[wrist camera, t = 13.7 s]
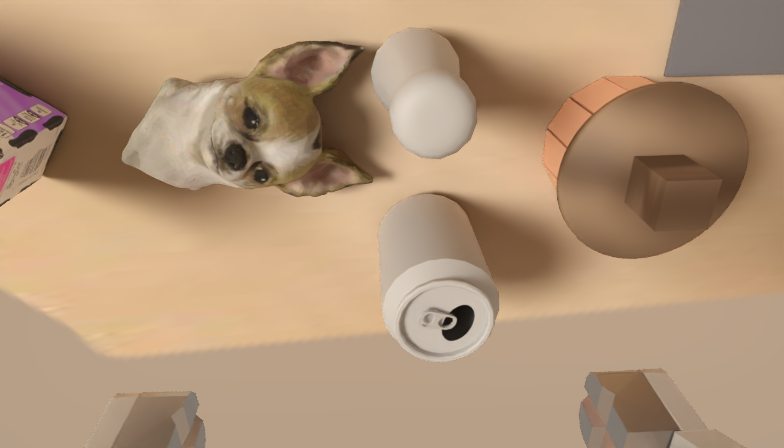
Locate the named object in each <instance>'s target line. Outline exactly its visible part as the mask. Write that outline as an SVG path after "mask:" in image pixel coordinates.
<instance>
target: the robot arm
mask: <svg viewBox="0 0 784 448" xmlns="http://www.w3.org/2000/svg"><path fill="white" fill-rule="evenodd" d="M584 387H585V389H586V390H587V393H588V396H587V397H586V398H585V399H584V400H583V401H582V402H581V405H580V411H579V420H580V429H581V432H582V436H583V439H584V441H585V444H586V446H587V448H745V447H744V446H742V445H741V444H739V443H737V442H736V441H734V440H732V439H731V438H729V437H727V436H726V435H724V434H723V433H721V432H719V431H717V430H709V429H708V428H707V427H706V425H705V424H704V422H703V421H702V420H701V418H700V417H699V416H698V414H697V413H696V412H695V410H694V409H693V407H692V406H691V405H690V403H689V402H688V401H687V399H686V398H685V397H684V395H683V394H682V392H681V391H680V390H679V388H678V387H677V386H676V384H675V383H674V381H673V380H672V379H671V378H670V376H669V375H668V373H667V372H666V371H664V370H663V369H661V368H660V369H643V370H626V371H608V372H591V373H589V375H588V376H587V378H586V382H585V386H584ZM198 406H199V403H198V400H197V396H196V393H194V392H192V391H187V392H144V393H122V394H121V393H118V394H116V395H115V396H114V397H113V398H112V399H111V400H110V402H109V403H108V405H107V407H106V409H105V411H104V412H103V414H102V416H101V418H100V420H99V421H98V423H97V425H96V427H95V429H94V430H93V432H92V434H91V436H90V438H89V440H88V441H87V443H86V445H85V447H84V448H205V442H206V438H205V427H204V423H203V420H202V419H200V418H199V417H198V416H197V415H196V412H197V409H198Z"/></svg>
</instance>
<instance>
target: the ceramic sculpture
mask: <svg viewBox="0 0 784 448" xmlns="http://www.w3.org/2000/svg"><path fill="white" fill-rule="evenodd" d="M363 51H364V49H363V47H362V46H355V45H346V44H342V43H339V42H330V41H305V42H296V43H294V44H292V45H289V46H286V47H282V48H278V49H274V50H273V51H271V52H270V53H269V54H268V55H266V56H265V57H264V58H263V59H261V60H260V61H259V63H258V64H257V66H256V67H255V69H254V70H253V71H252V73H251V74H250V75H249V76H248V77H245V78H228V79H226V80H215V81H214V82H207V83H192V82H189V81H187V80H182V79H179V78H170V79H168V80H166V81H165V82H164V84H163V86H162V88H161V90H160V91H159V93H158V95H157V96H156V98H155V100H154V101H153V103H152V105H151V106H150V108H149V110H148V112H147V113H146V115H145V117H144V118H143V119H142V121H141V122H140V123H139V125H138V126H137V128H136V129H135V130H134V131H133V133H132V135H131V137H130V139H129V142H128V144H127V146H126V147H125V149H124V150H123V152H122V161H123V162H124V163H125V164H127V165H130V166H133V167H135V168H137V169H139V170H141V171H143V172H144V173H146V174H148V175H150V176H152V177H154V178H156V179H158V180H161V181H163V182H165V183H167V184H170V185H172V186H175V187H179V188H188V189H190V190H199V189H201V188H203V187H205V186H209V185H214V184H223V185H227V186H232V187H235V188H246V189H254V188H259V187H269V186H276V187H277V188H279V189H280V190H282V191H283V192H285V193H287V194H290V195H293V196H296V197H301V196H312V197H317V196H320V195H325V194H326V193H327V192H334V191H337V190H340V189H343V188H345V187H348V186H351V185H355V184H367V183H371V182H373V178H372V177H371V176H370V175H369V174H368V173H366V172H365V171H363V170H362V169H361V168H359V167H358V166H357V165H356V164H355V163H354V162H353V161H352V160H351V159H350V158H349V157H348V156H347V155H346V154H345V153H344V152H342V151H340V150H338V149H335V148H327V149H322V139H323V123H322V120H321V117H320V114H319V112H318V110H317V108H316V106H315V104H314V102H313V98H314V96H317V95H321V94H323V93H325V92H327V91H328V90H330V89H331V88H333V87H334V86H335V85H336V84H337V83H338V81H339V80H340V79H341V77H342V76H343V74H344V73H345V71H346V70H347V68H348V67H349V65H350V64H351V62H352V61H353V60H355V59H356V58H357V57H358V56H359V55H360V54H361V53H362V52H363Z"/></svg>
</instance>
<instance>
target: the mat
mask: <svg viewBox="0 0 784 448" xmlns="http://www.w3.org/2000/svg"><path fill="white" fill-rule="evenodd" d="M756 74H784V0H681V1H680V6H679V10H678V14H677V19H676V23H675V28H674V32H673V36H672V41H671V45H670V50H669V54H668V59H667V63H666V67H665V72H664V76H666V77H674V76H715V75H756Z"/></svg>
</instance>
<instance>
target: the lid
mask: <svg viewBox="0 0 784 448" xmlns="http://www.w3.org/2000/svg"><path fill="white" fill-rule="evenodd" d="M747 161H748V139H747V133H746V130H745V127H744V124H743V121H742V120H741V118H740V116H739V115H738V113H737V111H736V110H735V109H734V108H733V107H732V106H731V104H730V103H728V102H727V101H726V100H725V99H723V98H722V97H721V96H719V95H717V94H715V93H714V92H712V91H709V90H707V89H705V88H702V87H699V86H696V85H693V84H688V83H683V82H660V83H653V84H648V85H644V86H641V87H638V88H635V89H632V90H629V91H627V92H625V93H623V94H621V95H619V96H617V97H616V98H614V99H612V100H611V101H609V102H608V103H606V104H605V105H603V106H602V107H601V108H600V109H598V110H597V111H596V112H595V113H594V114H593V115H591V116H590V117H589V118H588V119H587V120H586V121H585V122H584V124H583V125H582V126H581V127H580V129H579V130H578V131H577V132H576V134H575V135H574V137H573V138H572V140H571V141H570V143H569V145H568V147H567V149H566V151H565V153H564V155H563V158H562V161H561V164H560V167H559V172H558V176H557V200H558V204H559V209H560V211H561V214H562V216H563V218H564V220H565V222H566V223H567V225H568V227H569V228H570V229H571V231H572V232H573V233H574V234H575V235H576V237H577V238H578V239H579V240H580V241H581V242H583V243H584V244H585V245H586V246H588V247H590V248H591V249H593V250H595V251H597V252H599V253H602V254H604V255H608V256H612V257H617V258H629V259H636V258H646V257H651V256H656V255H659V254H663V253H666V252H669V251H671V250H673V249H676V248H678V247H680V246H682V245H684V244H686V243H688V242H690V241H691V240H693V239H694V238H696V237H697V236H699V235H700V234H701V233H703V232H704V231H705V230H707V229H708V228H709V227H710V226H711V225H712V224H713V223H714V222H715V221H716V220H717V219H718V218H719V217H720V216H721V215H722V214H723V212H724V211H725V210H726V209H727V208H728V206H729V205H730V203H731V202H732V200H733V199H734V197H735V195H736V193H737V191H738V189H739V188H740V185H741V183H742V180H743V178H744V175H745V171H746V167H747Z"/></svg>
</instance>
